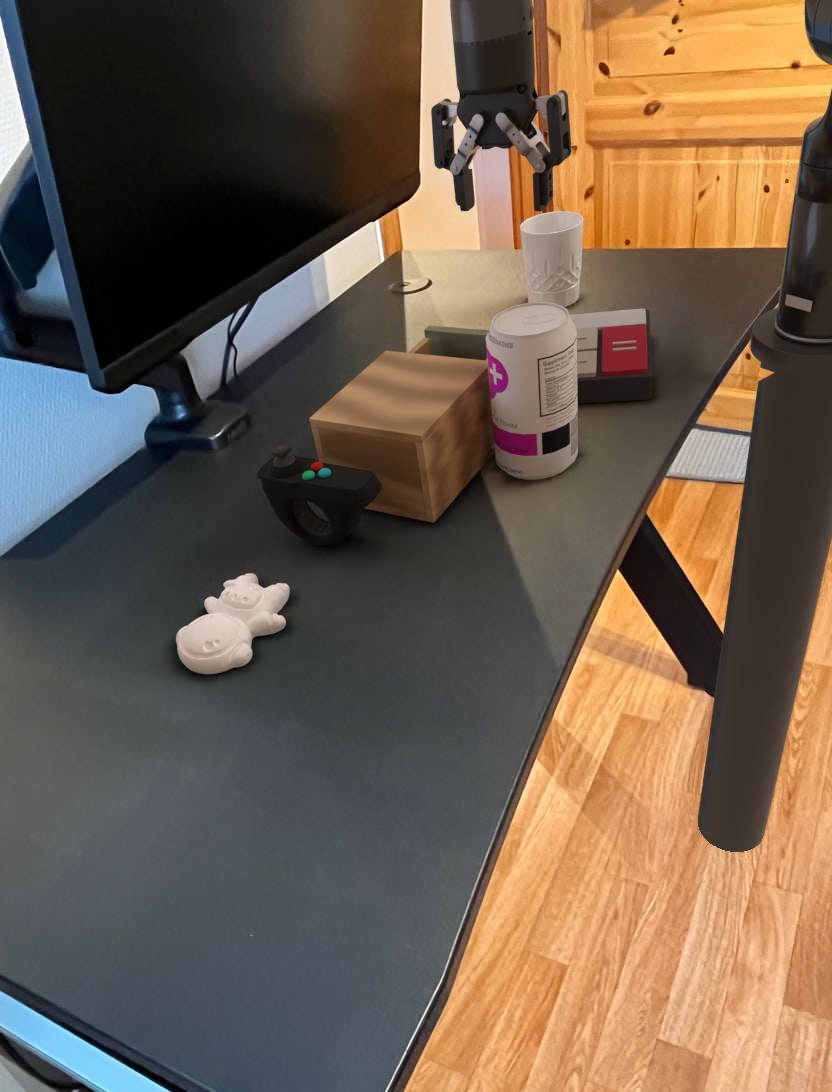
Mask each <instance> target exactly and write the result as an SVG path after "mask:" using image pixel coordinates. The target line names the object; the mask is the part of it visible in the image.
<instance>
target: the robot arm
mask: <svg viewBox="0 0 832 1092" xmlns="http://www.w3.org/2000/svg"><path fill="white" fill-rule="evenodd" d="M449 7H450V8H449V11H450V22H451V32H452V45H453V55H454V57H453V58H454V68H455V76H456V79H455V80H456V87H457V90H458V95H459V97H458V101H452V100H451V98H446V97H445V98H444V99H442V100H441V101H439V102H438V103H436V104H434V105H433V106H432V107H431V109H430V113H431V115H430V117H431V131H432V132H431V133H432V147H433V163H434V166H435V168H437V169H438V170H442V169H445V170H447V171H449V172H450V173H451V175H452V181H453V190H454V200H455V203H456V205H457V206H458V207H459V209H460V212H469V211H470V210H471V209H473V208H474V206H475V203H476V199H475V186H474V176H473V168H469V167H470V166H471V164H472V162H473V160H474V157H475V156H476V154H477V152H478V151H479V150H480V148H481V150H482V151H483V150H491V149H494V148H498V149H502V150H503V149H507V150H508V149H511V148H513V147H515V149H516V150H517V152H518V153H519V154H520V155H521V156H522V157H524V158H525V159H526V160H527V161H528V163H529V164H530V166H531V167H532V168H533V170H534V171H535V172H534V173H532V193H533V194H532V196H533V197H532V198H533V210H534V212H543V211H544V210H545V209H546V208H547V207H549V203H551V202H552V201H553V198H554V174H553V173H554V167H558V166H560V165H561V164H562V163H563V162H564V161H565V160H567V159H568V158H569V157H570V156H571V155H572V153H573V151H572V135H571V123H570V106H569V94H568V93H567V91H566V90H563V89H561V90H558V91H557V92H555V93H554V94H548V95H541V96H539V93H538V92H537V90H536V85H535V81H536V80H535V79H536V62H535V61H536V60H535V39H534V38H535V34H534V33H535V31H534V17H535V8H534V5H533V0H449ZM803 13H804V30H805V35H806V38H807V42H808V44H809V45H808V46H809V47H810V48H811V50H812V52H813V53H814V55H815V56H816V57H817V58H818V59H820V60H821V61H822V62H824V63H825V64H826V65H829V66H832V0H804V12H803ZM538 112H540V113H541V116H542V118H543V121H545V122H547V133H548V143H549V146H548V145H547V143H546V142H545V140H544V139H545V138H544V135H543V133H542V132H541V130H540V129H539V127H538V126H537V124H536V123H535V122H534V119H535V117H536V115H537V113H538ZM457 119H458V120H459V121H460V123H461V124H462V126H464V128H465V130H466V132H465V134H464V136H463V137H462V139H461V141H460V144H459V145H458V148H457V149H456V151H455V130H454V129H455V128H454V125H455V124H456V122H457ZM799 153H800V154H799V160H798V166H797V175H796V180H795V189H794V194H793V201H792V207H791V214H790V221H789V229H788V234H787V235H788V236H787V242H786V248H785V249H786V250H785V256H784V261H783V269H782V276H781V282H780V288H779V289H780V290H779V296H778V297H779V298H778V303H777V307H776V308H777V317H776V319H775V324H774V330H775V332H776V333H777V334H778V335H779V336H780V337H782V338H783V339H786V340H788V341H791V342H794V343H799V344H804V345H816V346H824V345H832V88H830V93H829V98H828V103H827V107H826V110H825V112H824V114H823V115H820V116H818V117H816V118H815V119H813V120H812V121H811V122H810V123H808V124H807V126H806V127H805V129H804V132H803V134H802V140H801V146H800V152H799Z"/></svg>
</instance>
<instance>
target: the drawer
mask: <svg viewBox="0 0 832 1092" xmlns="http://www.w3.org/2000/svg"><path fill="white" fill-rule="evenodd" d="M488 331H489V329H479V328H465V327H453V326H452V327H451V326H440V325H428V326H427V327H426V328H424V329H423V333H424V337H423V338H422V339H421V340H420V341H418V342H417V343H416V344H415V345H414V346H413V347H412V348H411V349H410V350H408V351H407V353H415V354H425V355H435V356H445V357H455V358H465V359H475V360H485V361H487V349H486V336H487V334H488Z"/></svg>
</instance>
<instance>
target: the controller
mask: <svg viewBox="0 0 832 1092" xmlns="http://www.w3.org/2000/svg"><path fill="white" fill-rule="evenodd" d="M292 450H293V446H292V444H291V443H290V442H288V441H279V442H276V443H274V444H273V445H271V446H270V448H269V454H270V455H271V456H273V457H271V458H270V459H268V460H266V462H265V463H264V464H263V465H262V466H261V467H260V468H259V469H258V471H257V472H256V478H258V479H259V480H260V481H261V488H262V489H261V490H262V491H263V493H264V495H265V496H266V498H267V500H268V502H269V504H270V506H271V508H272V510H273V512H274V513H275V515H276V517H277V518H278V520H279V521H280V522H281V523H282V524H283V525H284V527H285V528H286V529H287V530H288V531H290V532H291V533H292V534H293V535H295V536H296V537H298V538H299V539H301V540H302V541H304V542H306V543H309V544H312V545H317V546H323V547H326V546H333V545H338V544H340V543H341V542H343V541H344V540H346V539H347V538H348V537H350V535H351V534H352V533H353V532H354V531H355V529H356V528H357V526H358V525H359V523H360V521H361V519H362V515H363V509H365V507H366V506H368V505H369V504H370V503H371V502H372V501H373V500H374V499H375V498H376V496H377V495H378V494H379V492H380V490H381V488H382V484H381V482H379V479H378V478H377V477H376V475H375V474H374V473H373V472H372V471H367V470H362V469H356V468H350V467H345V466H339V465H333V464H328V463H322V462H319V460H317V459H315V458H311V457H303V456H297V455H296V454H293V453H291V452H292ZM308 502H309V503H312V504H314V506H317V507H318V508H319V509H320V510H321V511H322V512H323V513H324V514H325V515H326V517H327V519H328V520H326V519H323V517H320V515H318V514H317V513H316V512H314V510H313V509H312V508H311V506H310V504H309V503H308Z"/></svg>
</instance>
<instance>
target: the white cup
mask: <svg viewBox="0 0 832 1092" xmlns="http://www.w3.org/2000/svg"><path fill="white" fill-rule="evenodd" d="M519 235H520V241H521V242H520V243H521V254H522V264H523V275H524V283H525V285H526V293H527V303H534V302H547V303H554V304H558V305H561V306H563V307H564V308H567V307H569V306H571V305H573V304H575V303H576V302H577V301H578V300H579V299H580V285H581V284H580V282H581V279H580V278H581V275H582V263H583V240H584V216H583V215H582V214H580V213H578V212H574V211H569V210H559V211H549V212H543V213H539V214H537V215H533V216H531V217H529V218H526V219H525V220H523V221H522V222H521V224H520V225H519Z"/></svg>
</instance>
